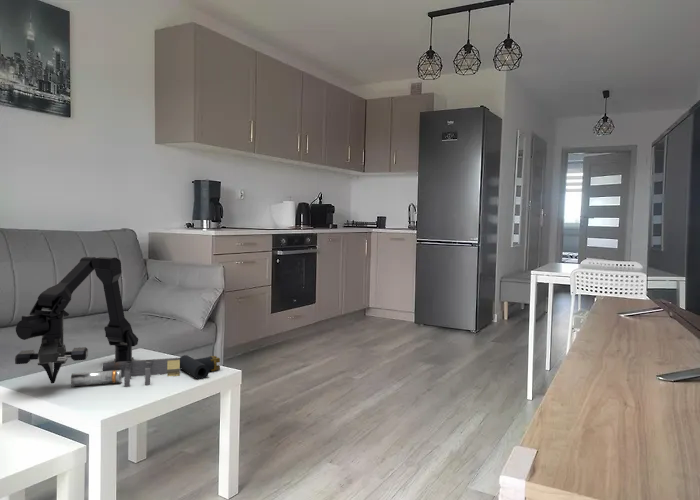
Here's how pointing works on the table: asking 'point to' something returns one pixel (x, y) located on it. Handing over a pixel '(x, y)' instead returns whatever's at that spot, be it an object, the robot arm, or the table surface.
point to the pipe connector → (199, 366)
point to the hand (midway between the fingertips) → (53, 383)
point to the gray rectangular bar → (138, 366)
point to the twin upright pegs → (128, 374)
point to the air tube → (96, 378)
